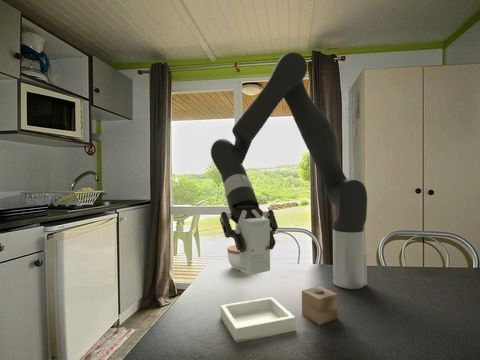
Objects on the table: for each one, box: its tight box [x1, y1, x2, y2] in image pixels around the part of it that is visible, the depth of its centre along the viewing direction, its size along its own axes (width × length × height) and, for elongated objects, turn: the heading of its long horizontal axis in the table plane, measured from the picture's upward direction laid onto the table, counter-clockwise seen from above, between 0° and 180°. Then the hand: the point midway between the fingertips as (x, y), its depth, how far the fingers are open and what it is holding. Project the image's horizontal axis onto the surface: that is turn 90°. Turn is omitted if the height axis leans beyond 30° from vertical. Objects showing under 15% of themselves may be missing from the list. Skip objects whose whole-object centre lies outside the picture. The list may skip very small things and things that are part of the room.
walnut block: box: [301, 285, 339, 325], centre depth 72 cm, size 6×6×6 cm
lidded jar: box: [226, 244, 242, 272], centre depth 111 cm, size 11×11×9 cm
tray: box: [219, 296, 297, 344], centre depth 69 cm, size 14×12×3 cm
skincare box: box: [240, 217, 271, 276], centre depth 69 cm, size 6×4×12 cm
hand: (257, 249), depth 68 cm, fingers closed on skincare box, 6 cm apart
